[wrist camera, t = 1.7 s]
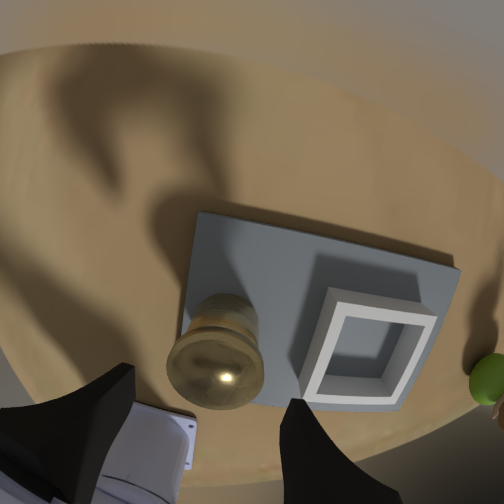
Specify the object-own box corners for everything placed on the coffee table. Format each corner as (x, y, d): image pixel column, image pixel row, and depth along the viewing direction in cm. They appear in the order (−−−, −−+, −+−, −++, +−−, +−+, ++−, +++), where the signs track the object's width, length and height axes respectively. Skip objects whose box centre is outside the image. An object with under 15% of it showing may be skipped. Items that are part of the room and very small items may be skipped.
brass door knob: (255, 358, 20) (253, 416, 14) (187, 345, 20) (164, 398, 14) (270, 296, 19) (274, 344, 13) (195, 281, 19) (169, 323, 13)
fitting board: (394, 404, 22) (407, 428, 19) (179, 380, 22) (169, 408, 19) (454, 267, 19) (480, 280, 16) (201, 210, 19) (188, 216, 15)
